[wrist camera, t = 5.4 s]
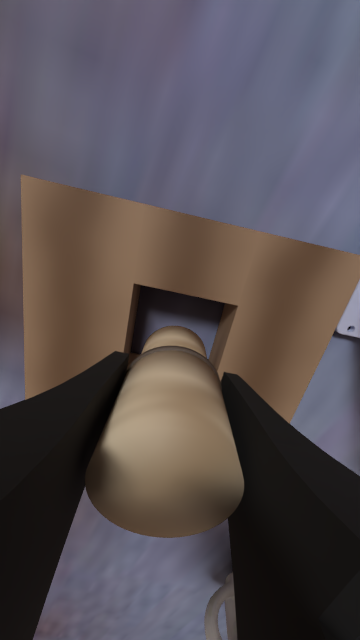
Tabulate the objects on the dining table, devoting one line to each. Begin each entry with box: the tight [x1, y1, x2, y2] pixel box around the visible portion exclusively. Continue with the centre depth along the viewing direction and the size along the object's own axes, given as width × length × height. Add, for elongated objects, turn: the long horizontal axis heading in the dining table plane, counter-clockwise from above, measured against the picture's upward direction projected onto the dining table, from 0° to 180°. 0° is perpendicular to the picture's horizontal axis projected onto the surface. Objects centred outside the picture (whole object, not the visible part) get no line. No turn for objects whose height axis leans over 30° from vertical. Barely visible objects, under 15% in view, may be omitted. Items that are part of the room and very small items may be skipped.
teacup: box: [205, 572, 237, 640], centre depth 23 cm, size 14×11×8 cm
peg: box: [85, 326, 244, 538], centre depth 9 cm, size 4×4×7 cm
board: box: [21, 175, 360, 424], centre depth 15 cm, size 18×14×3 cm
